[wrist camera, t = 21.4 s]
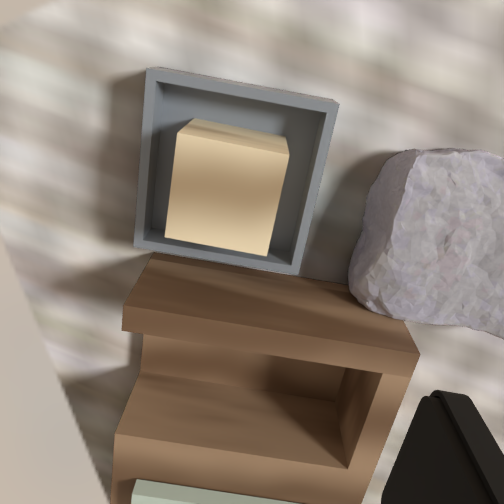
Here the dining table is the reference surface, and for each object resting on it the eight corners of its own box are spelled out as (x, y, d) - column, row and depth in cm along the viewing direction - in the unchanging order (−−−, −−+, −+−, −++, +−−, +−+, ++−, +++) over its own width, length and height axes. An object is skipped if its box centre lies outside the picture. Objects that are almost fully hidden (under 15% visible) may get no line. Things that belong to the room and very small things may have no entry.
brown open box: (328, 470, 35) (340, 555, 29) (136, 440, 34) (108, 521, 28) (388, 292, 29) (420, 354, 23) (154, 252, 28) (123, 305, 22)
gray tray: (295, 257, 28) (298, 275, 25) (144, 230, 27) (133, 246, 25) (332, 99, 24) (339, 104, 22) (158, 66, 24) (146, 67, 21)
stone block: (374, 134, 27) (334, 292, 29) (404, 130, 22) (355, 320, 24) (558, 173, 28) (507, 324, 30) (625, 178, 23) (559, 356, 25)
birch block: (266, 221, 26) (266, 256, 22) (182, 205, 26) (164, 237, 22) (285, 136, 24) (289, 155, 20) (194, 118, 24) (177, 132, 20)
